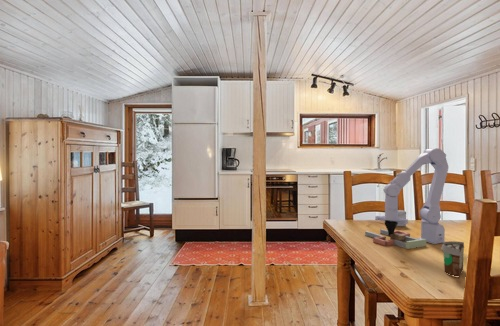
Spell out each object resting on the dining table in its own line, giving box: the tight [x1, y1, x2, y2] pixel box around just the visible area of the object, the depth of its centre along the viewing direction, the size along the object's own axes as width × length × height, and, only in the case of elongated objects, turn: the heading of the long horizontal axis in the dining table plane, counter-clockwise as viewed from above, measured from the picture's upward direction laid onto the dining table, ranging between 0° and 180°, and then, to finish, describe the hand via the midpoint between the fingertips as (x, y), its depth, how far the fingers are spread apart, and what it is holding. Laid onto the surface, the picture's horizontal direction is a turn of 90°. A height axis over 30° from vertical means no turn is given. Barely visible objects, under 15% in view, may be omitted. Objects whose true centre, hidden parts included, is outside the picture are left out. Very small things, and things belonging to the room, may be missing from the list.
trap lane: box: [364, 228, 427, 250], centre depth 157 cm, size 26×22×3 cm
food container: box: [440, 240, 465, 278], centre depth 115 cm, size 12×6×10 cm, turn 141°
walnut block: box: [389, 233, 406, 243], centre depth 155 cm, size 4×5×3 cm
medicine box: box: [396, 209, 407, 227], centre depth 188 cm, size 8×4×9 cm, turn 84°
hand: (391, 236), depth 158 cm, fingers closed
